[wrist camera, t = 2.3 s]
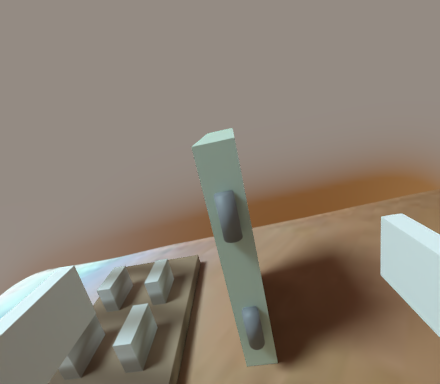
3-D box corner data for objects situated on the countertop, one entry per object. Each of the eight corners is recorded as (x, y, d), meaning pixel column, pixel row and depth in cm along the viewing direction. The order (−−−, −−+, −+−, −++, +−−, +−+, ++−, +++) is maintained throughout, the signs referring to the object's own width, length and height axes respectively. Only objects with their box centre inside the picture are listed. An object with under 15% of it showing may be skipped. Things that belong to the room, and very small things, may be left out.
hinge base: (162, 458, 14) (139, 413, 13) (-5, 470, 16) (-41, 429, 14) (200, 263, 33) (192, 236, 32) (123, 276, 35) (113, 250, 33)
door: (280, 376, 17) (234, 139, 12) (232, 381, 18) (166, 154, 12) (261, 278, 28) (232, 127, 22) (231, 283, 28) (195, 136, 23)
